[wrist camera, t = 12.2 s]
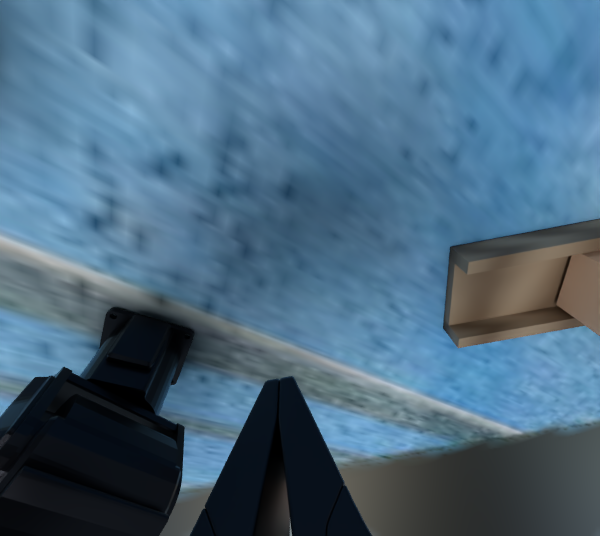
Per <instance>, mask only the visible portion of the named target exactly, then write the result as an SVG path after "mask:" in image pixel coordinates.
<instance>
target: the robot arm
mask: <svg viewBox="0 0 600 536" xmlns="http://www.w3.org/2000/svg"><path fill="white" fill-rule="evenodd" d="M113 314H115V315H116V316H115V315H113ZM186 334H188V335H189V336H187V335H186ZM193 337H194V331H193V330H191V329H188V328H185V327H181V326H178V325H174V324H171V323H167V322H164V321H160V320H157V319H153V318H149V317H146V316H142V315H139V314H135V313H132V312H128V311H125V310H121V309H118V308H111V309H110V310H109V311H108V312H107V314H106V317H105V322H104V327H103V332H102V338H101V343H100V348H99V350H98V352H97V353H96V355H95V356H94V357H93V359H92V360H91V361H90V363H89V364H88V366H87V367H86V368H85V370H84V371H83V373H82V374H81V375H80V376H78V375H76V374H74V373H72V370H70V369H68V368H65V367H63V368H62V369H61V370H60V371H59V372H58V373H57V374H56V375H55V376H49V377H35V378H34V379H33V380H32V381H31V382H30V383H29V384H28V385H27V387H26V388H25V389H24V390H23V391H22V392H21V393H20V394H19V396H18V397H17V398H16V399H15V400H14V401H13V402H12V404H11V405H10V406H9V407H8V408H7V409H6V410H5V412H4V413H3V414H2V415H1V416H0V536H159V535H160V533H161V531H162V530H163V528H164V526H165V525H166V523H167V522H168V519H169V516H170V514H171V512H172V510H173V508H174V506H175V503H176V500H177V498H178V495H179V491H180V487H181V482H182V468H183V448H184V429H185V427H184V426H182V425H180V424H178V423H177V424H175V423H173V422H171V421H169V420H167V419H165V418H163V417H161V416H159V413H160V410H161V408H162V405H163V403H164V400H165V397H166V395H167V392H168V389H169V387H170V385H174V384H176V382H177V379H178V377H179V374H180V372H181V369H182V366H183V364H184V361H185V358H186V356H187V353H188V351H189V348H190V345H191V343H192V340H193ZM205 508H206V509H203V510H202V512H201V514H200V516H199V518H198V520H197V522H196V524H195V526H194V528H193V530H192V532H191V534H190V536H289V535H290V534H289V533H290V532H289V531H290V521H291V529H292V536H372V535H371V533H370V531H369V529H368V528H367V526H366V524H365V523H364V520H363V518H362V516H361V514H360V513H359V511H358V509H357V507H356V505H355V503H354V501H353V499H352V497H351V495H350V493H349V490H348V489H347V486H345V483H344V480H343V478H342V476H341V474H340V472H339V470H338V468H337V466H336V464H335V462H334V460H333V457H332V455H331V453H330V451H329V449H328V447H327V445H326V443H325V441H324V439H323V437H322V435H321V433H320V430H319V428H318V426H317V424H316V422H315V420H314V418H313V416H312V414H311V412H310V410H309V408H308V406H307V403H306V401H305V399H304V397H303V395H302V393H301V391H300V389H299V387H298V385H297V383H296V381H295V379H294V377H293V376H289V377H284V378H281V379H280V380H279V379H272V380H268V381H266V382H265V384H264V386H263V388H262V390H261V392H260V394H259V396H258V398H257V400H256V402H255V404H254V406H253V408H252V410H251V412H250V414H249V416H248V418H247V420H246V422H245V425H244V427H243V429H242V431H241V433H240V435H239V437H238V439H237V441H236V443H235V445H234V447H233V449H232V451H231V453H230V455H229V457H228V459H227V461H226V463H225V465H224V467H223V469H222V472H221V474H220V476H219V478H218V480H217V482H216V484H215V486H214V488H213V490H212V492H211V494H210V496H209V498H208V500H207V502H206V504H205Z"/></svg>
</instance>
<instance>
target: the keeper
mask: <svg viewBox="0 0 600 536" xmlns="http://www.w3.org/2000/svg"><path fill="white" fill-rule="evenodd" d="M556 305H557V306H559V307H560V308H562V309H563V310H564V311H566V312H567V313H569V314H570V315H571V316H573V317H574V318H575V319H577V320H578V321H580V322H581V323H582V324H584V325H585V326H587V327H588V328H589V329H591V330H592V331H593V332H595V333H596V334H598V335H599V336H600V250H599V251H593V252H588V253H582V254H577V255H572V256H571V260H570V263H569V266H568V269H567V272H566V275H565V278H564V281H563V285H562V288H561V291H560V294H559V297H558V300H557V303H556Z"/></svg>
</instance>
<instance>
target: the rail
mask: <svg viewBox="0 0 600 536" xmlns="http://www.w3.org/2000/svg"><path fill="white" fill-rule="evenodd" d="M599 250H600V219H597V220H591V221H586V222H581V223H575V224H570V225H565V226H559V227H554V228H549V229H543V230H538V231H533V232H527V233H522V234H517V235H511V236H506V237H501V238H495V239H490V240H485V241H479V242H474V243H469V244H463V245H458V246H453V247H450V257H449V269H448V280H447V292H446V303H445V315H444V326H443V328H444V330H445V331H446V333H447V334H448V335H449V337H450V338H451V339H452V341H453V342H454V343H455V345H456V346H457V347H458V348H461V347H467V346H473V345H478V344H484V343H490V342H495V341H501V340H506V339H512V338H518V337H523V336H529V335H535V334H540V333H546V332H551V331H557V330H563V329H568V328H574V327H579V326H585V325H584V324H582V323H581V322H580V321H578V320H577V319H575V318H574V317H573V316H571V315H570V314H569V313H567V312H566V311H564V310H563V309H562V308H560V307H559V306H557V305H556V303H557V300H558V297H559V294H560V291H561V288H562V285H563V281H564V278H565V275H566V272H567V269H568V266H569V263H570V260H571V256H572V255H577V254H582V253H588V252H593V251H599Z"/></svg>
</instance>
